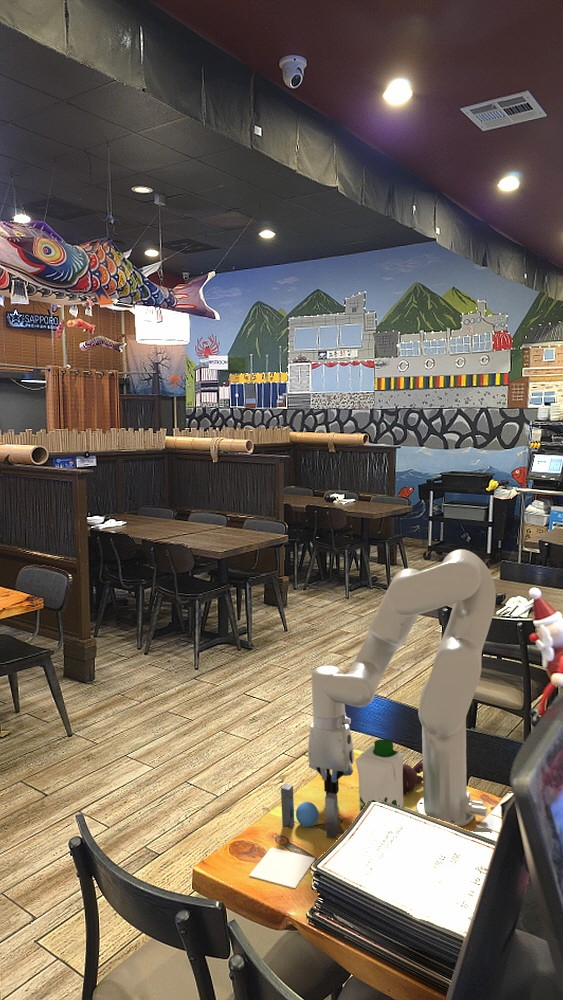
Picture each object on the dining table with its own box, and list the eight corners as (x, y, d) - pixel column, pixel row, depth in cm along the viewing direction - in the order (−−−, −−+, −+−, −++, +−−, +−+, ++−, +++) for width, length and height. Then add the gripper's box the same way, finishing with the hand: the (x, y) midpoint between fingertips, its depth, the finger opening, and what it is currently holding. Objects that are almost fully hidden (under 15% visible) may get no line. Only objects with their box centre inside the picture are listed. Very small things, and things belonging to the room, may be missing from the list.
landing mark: (315, 859, 142) (315, 858, 142) (295, 888, 133) (295, 887, 133) (271, 848, 146) (271, 847, 146) (249, 876, 138) (248, 875, 138)
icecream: (391, 783, 159) (438, 769, 167) (371, 763, 164) (417, 751, 173) (384, 809, 160) (431, 794, 169) (365, 788, 166) (411, 774, 174)
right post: (338, 834, 151) (337, 794, 150) (335, 839, 149) (333, 799, 148) (330, 832, 151) (328, 792, 151) (326, 837, 150) (325, 797, 149)
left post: (294, 823, 155) (292, 785, 154) (290, 828, 153) (289, 789, 152) (286, 822, 156) (284, 783, 155) (282, 826, 154) (280, 788, 153)
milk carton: (409, 832, 150) (407, 743, 148) (390, 854, 143) (387, 760, 141) (373, 820, 155) (370, 734, 153) (353, 841, 148) (350, 750, 146)
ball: (317, 832, 154) (323, 809, 156) (311, 825, 150) (318, 801, 153) (296, 826, 156) (303, 803, 159) (290, 819, 152) (297, 796, 155)
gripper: (364, 718, 162) (367, 793, 164) (306, 709, 169) (308, 781, 170) (354, 731, 155) (356, 809, 157) (293, 721, 162) (296, 796, 164)
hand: (331, 794), depth 164 cm, fingers closed
